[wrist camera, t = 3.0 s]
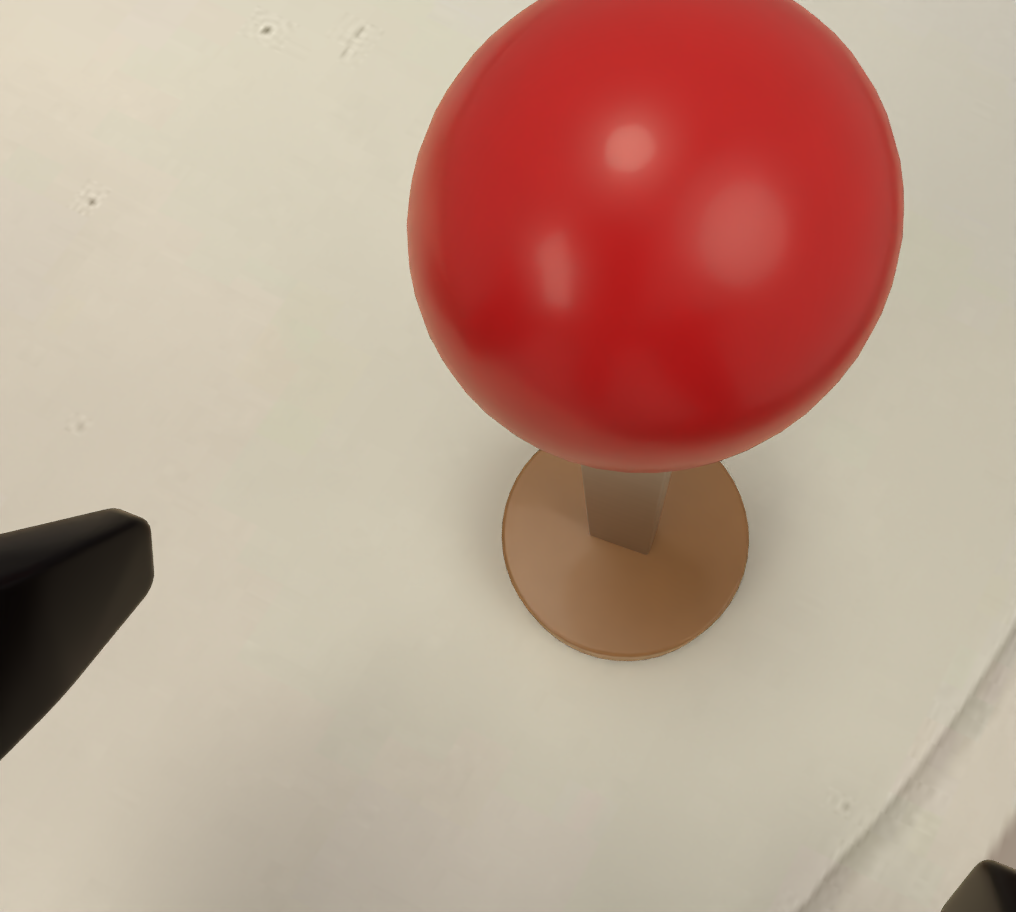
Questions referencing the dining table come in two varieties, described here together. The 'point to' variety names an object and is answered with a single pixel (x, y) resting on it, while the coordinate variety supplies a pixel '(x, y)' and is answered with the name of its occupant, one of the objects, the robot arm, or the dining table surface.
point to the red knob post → (649, 282)
